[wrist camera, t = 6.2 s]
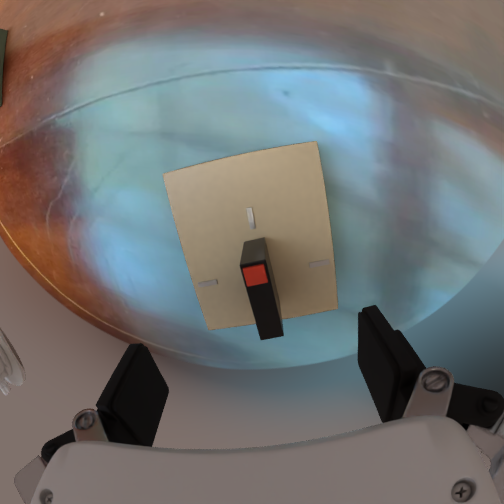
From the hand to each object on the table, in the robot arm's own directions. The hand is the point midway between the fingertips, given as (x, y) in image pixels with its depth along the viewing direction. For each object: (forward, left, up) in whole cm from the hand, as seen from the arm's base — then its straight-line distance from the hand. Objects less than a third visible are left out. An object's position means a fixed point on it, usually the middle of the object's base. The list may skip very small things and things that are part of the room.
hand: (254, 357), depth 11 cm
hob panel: (+2, 0, -11) cm, 12 cm away
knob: (0, 0, -8) cm, 8 cm away
